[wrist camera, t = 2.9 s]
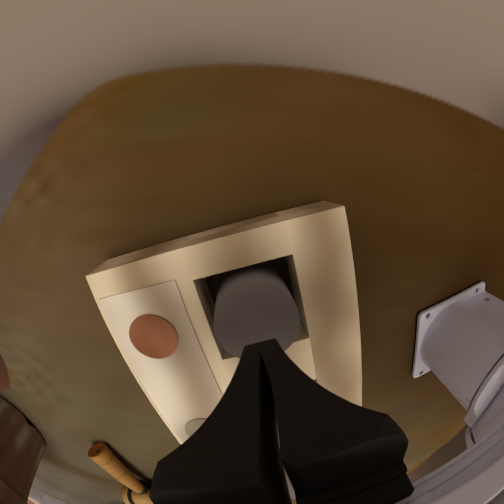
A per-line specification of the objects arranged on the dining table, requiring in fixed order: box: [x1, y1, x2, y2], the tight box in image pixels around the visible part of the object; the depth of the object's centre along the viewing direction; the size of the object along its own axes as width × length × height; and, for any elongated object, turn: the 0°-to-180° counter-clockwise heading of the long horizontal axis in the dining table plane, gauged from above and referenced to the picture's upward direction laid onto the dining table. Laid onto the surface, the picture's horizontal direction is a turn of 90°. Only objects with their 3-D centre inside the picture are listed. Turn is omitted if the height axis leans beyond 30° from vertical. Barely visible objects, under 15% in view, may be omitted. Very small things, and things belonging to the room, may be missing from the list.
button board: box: [86, 201, 362, 444], centre depth 19 cm, size 15×27×4 cm, turn 14°
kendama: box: [88, 442, 154, 504], centre depth 23 cm, size 8×6×18 cm
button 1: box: [213, 262, 300, 358], centre depth 16 cm, size 4×4×4 cm
